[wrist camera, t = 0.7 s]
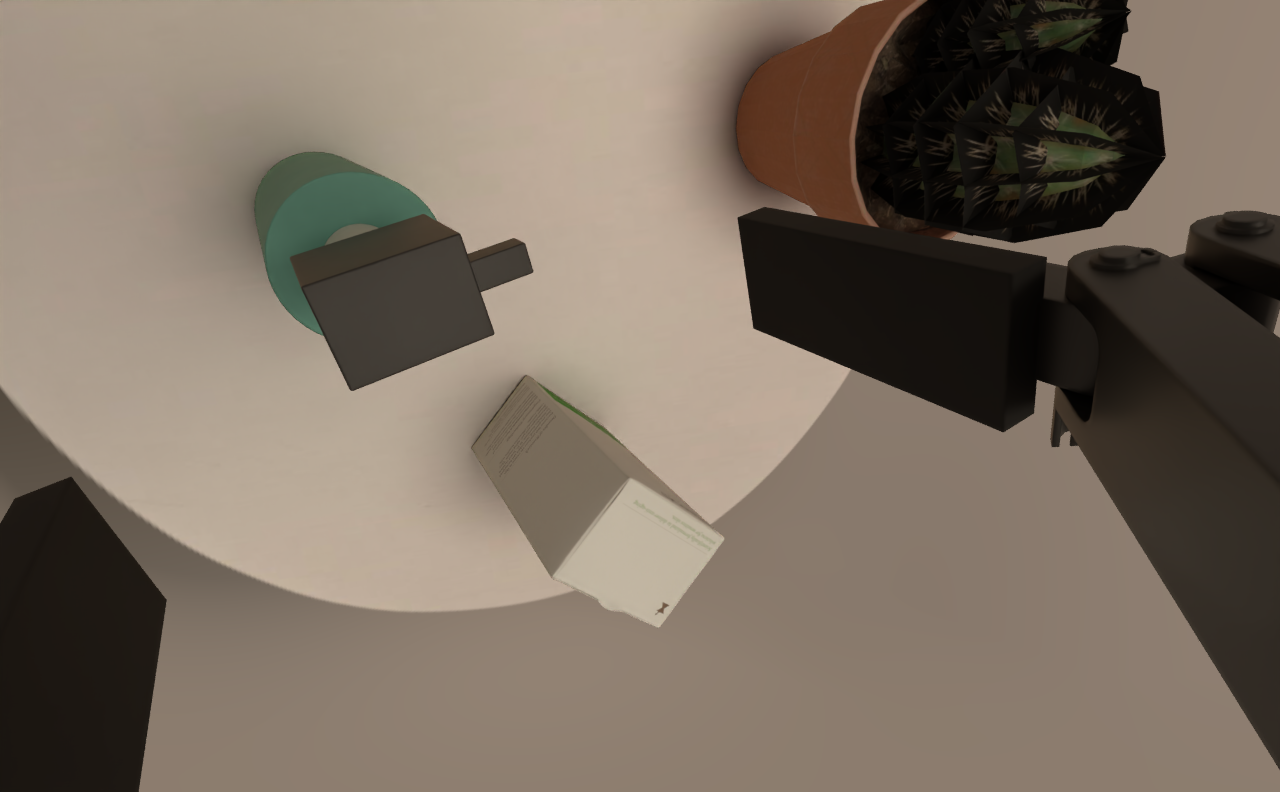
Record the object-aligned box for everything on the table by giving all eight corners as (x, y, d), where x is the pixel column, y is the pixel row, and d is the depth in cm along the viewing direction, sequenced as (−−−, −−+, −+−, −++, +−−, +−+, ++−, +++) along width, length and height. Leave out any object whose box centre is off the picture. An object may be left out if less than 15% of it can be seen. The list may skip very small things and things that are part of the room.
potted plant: (869, 172, 53) (1256, 211, 33) (735, 253, 50) (1079, 353, 30) (839, -20, 46) (1311, -119, 26) (679, 59, 42) (1085, 16, 22)
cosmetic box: (606, 428, 49) (734, 538, 37) (552, 501, 49) (661, 635, 37) (521, 369, 44) (636, 473, 32) (461, 450, 44) (551, 585, 32)
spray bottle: (289, 293, 36) (339, 453, 19) (229, 172, 33) (228, 239, 16) (422, 248, 39) (567, 356, 22) (378, 132, 36) (508, 154, 19)
